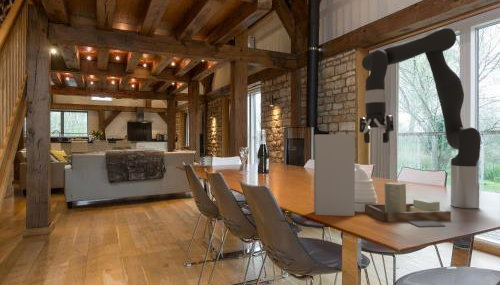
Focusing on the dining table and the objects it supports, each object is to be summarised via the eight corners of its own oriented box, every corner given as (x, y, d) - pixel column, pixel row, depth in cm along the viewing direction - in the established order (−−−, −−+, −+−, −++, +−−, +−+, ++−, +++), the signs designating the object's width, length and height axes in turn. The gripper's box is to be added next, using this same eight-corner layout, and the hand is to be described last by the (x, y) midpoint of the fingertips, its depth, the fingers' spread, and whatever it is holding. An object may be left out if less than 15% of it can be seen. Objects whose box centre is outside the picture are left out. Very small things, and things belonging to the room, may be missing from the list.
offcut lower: (427, 213, 125) (427, 206, 125) (443, 219, 116) (443, 211, 116) (409, 214, 125) (409, 206, 125) (424, 220, 116) (424, 211, 116)
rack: (423, 210, 129) (423, 203, 129) (450, 220, 113) (450, 211, 113) (365, 212, 126) (365, 204, 126) (384, 221, 111) (384, 213, 111)
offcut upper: (423, 206, 125) (423, 198, 125) (439, 210, 118) (439, 202, 118) (413, 207, 123) (413, 199, 123) (428, 211, 116) (428, 202, 116)
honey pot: (337, 206, 136) (337, 163, 136) (361, 204, 141) (361, 163, 141) (359, 213, 124) (359, 166, 124) (384, 210, 130) (384, 165, 129)
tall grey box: (351, 212, 126) (351, 134, 125) (354, 215, 120) (355, 134, 120) (314, 211, 127) (314, 134, 127) (315, 214, 121) (315, 134, 121)
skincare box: (406, 217, 118) (406, 183, 118) (400, 218, 116) (400, 184, 116) (390, 213, 123) (390, 181, 123) (383, 215, 121) (384, 182, 121)
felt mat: (431, 221, 112) (431, 219, 112) (445, 226, 105) (445, 225, 105) (406, 221, 111) (406, 220, 111) (418, 227, 104) (418, 225, 104)
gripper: (397, 100, 125) (398, 142, 125) (367, 104, 138) (367, 142, 138) (384, 99, 121) (385, 143, 122) (354, 103, 134) (355, 143, 134)
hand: (376, 142), depth 130 cm, fingers open, 8 cm apart
